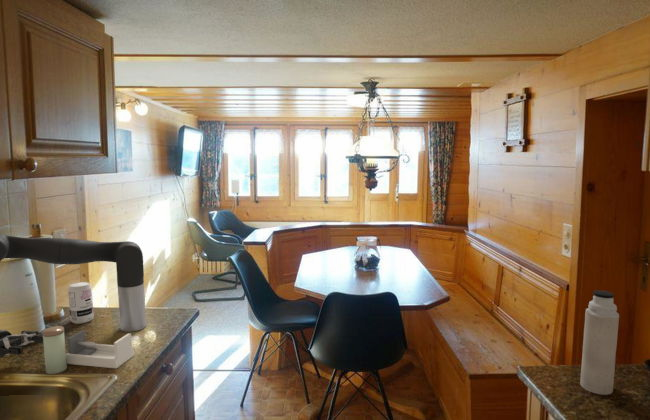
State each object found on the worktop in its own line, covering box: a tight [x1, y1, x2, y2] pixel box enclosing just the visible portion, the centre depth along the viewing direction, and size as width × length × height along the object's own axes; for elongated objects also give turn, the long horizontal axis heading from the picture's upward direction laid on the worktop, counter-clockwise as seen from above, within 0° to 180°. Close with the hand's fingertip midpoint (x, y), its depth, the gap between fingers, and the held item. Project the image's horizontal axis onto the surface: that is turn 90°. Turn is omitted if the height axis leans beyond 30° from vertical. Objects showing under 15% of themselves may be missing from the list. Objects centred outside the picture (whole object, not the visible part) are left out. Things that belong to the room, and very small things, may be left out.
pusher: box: [67, 329, 97, 355], centre depth 145 cm, size 7×7×7 cm
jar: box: [41, 325, 68, 375], centre depth 138 cm, size 6×6×13 cm
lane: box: [66, 332, 135, 369], centre depth 145 cm, size 20×9×8 cm, turn 79°
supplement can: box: [67, 281, 95, 325], centre depth 178 cm, size 8×8×15 cm
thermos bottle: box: [579, 290, 620, 396], centre depth 125 cm, size 8×8×28 cm
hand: (33, 344), depth 139 cm, fingers open, 8 cm apart
